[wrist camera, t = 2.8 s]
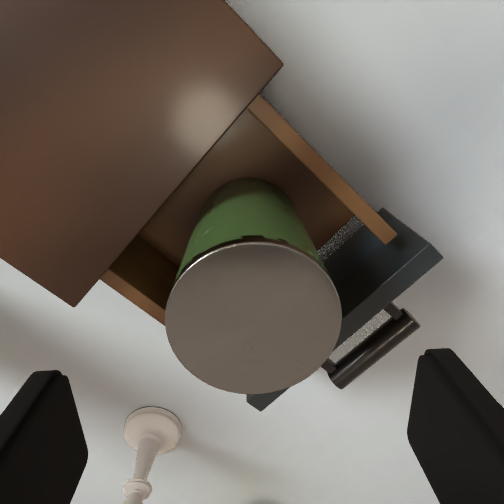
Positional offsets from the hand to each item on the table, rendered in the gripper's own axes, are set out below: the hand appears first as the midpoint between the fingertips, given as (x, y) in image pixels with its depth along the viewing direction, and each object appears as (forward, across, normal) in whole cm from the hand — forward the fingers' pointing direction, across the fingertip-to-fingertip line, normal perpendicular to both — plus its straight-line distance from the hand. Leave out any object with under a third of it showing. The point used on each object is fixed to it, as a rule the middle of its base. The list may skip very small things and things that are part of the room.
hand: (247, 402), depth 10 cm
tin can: (+15, 0, 0) cm, 15 cm away
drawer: (+16, -2, +2) cm, 17 cm away
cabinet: (+17, +8, -9) cm, 21 cm away
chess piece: (+18, +9, +19) cm, 27 cm away
